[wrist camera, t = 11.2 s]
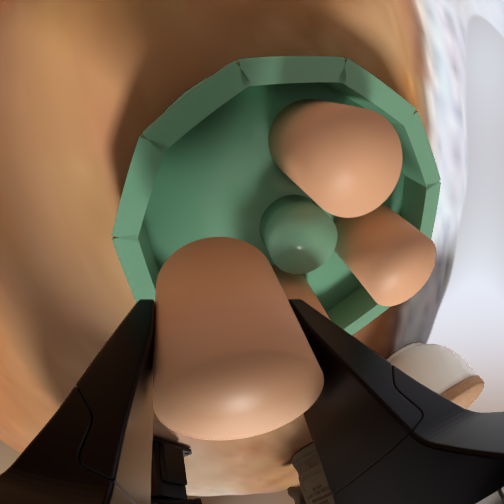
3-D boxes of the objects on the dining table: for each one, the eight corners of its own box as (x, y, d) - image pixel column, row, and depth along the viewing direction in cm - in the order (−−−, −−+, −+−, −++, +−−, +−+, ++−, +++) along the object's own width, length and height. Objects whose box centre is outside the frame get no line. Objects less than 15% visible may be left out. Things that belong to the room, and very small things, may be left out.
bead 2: (297, 317, 17) (323, 369, 14) (236, 320, 16) (252, 378, 13) (313, 264, 15) (348, 315, 12) (245, 264, 14) (266, 322, 11)
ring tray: (251, 362, 20) (260, 393, 18) (64, 209, 12) (43, 235, 10) (432, 231, 17) (457, 251, 15) (326, 4, 9) (356, -8, 7)
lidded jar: (404, 316, 21) (470, 405, 14) (456, 328, 26) (505, 390, 18) (330, 398, 25) (368, 481, 18) (395, 395, 30) (430, 456, 22)
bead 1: (285, 239, 9) (348, 341, 5) (262, 331, 10) (298, 430, 7) (155, 234, 8) (144, 351, 4) (157, 332, 9) (160, 442, 6)
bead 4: (347, 271, 16) (384, 318, 13) (319, 226, 14) (359, 273, 11) (396, 233, 16) (441, 272, 12) (375, 184, 14) (427, 218, 10)
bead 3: (297, 195, 13) (337, 237, 10) (250, 131, 11) (281, 152, 8) (359, 150, 13) (414, 178, 9) (320, 83, 11) (375, 87, 7)
